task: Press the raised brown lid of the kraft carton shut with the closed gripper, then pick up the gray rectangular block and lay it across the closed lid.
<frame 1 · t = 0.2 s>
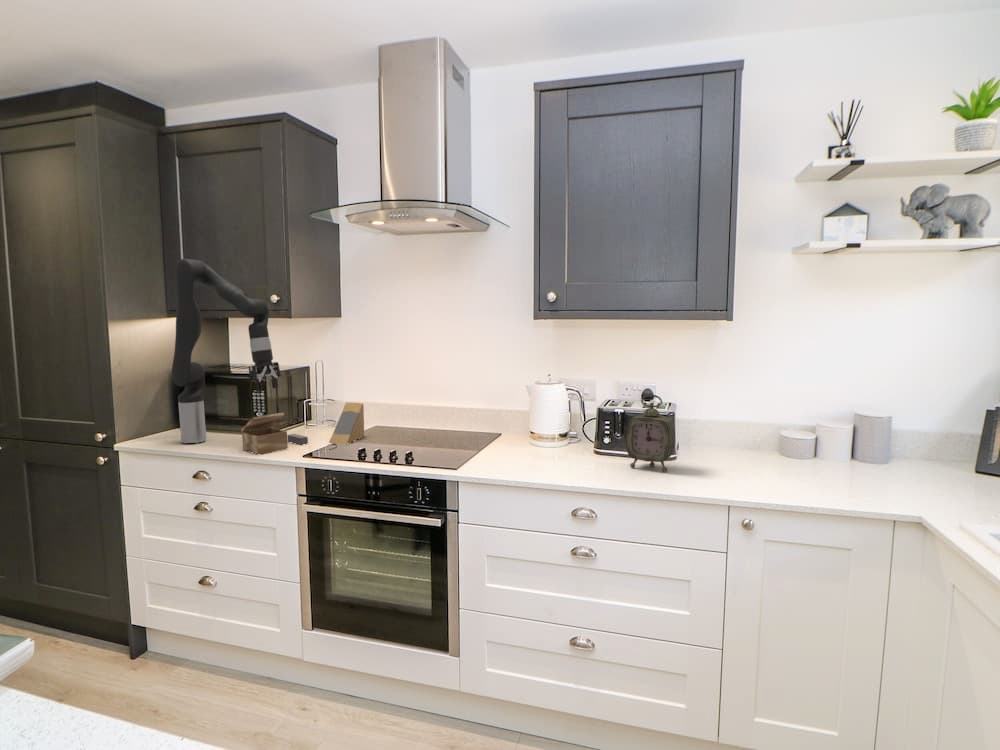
hand: (267, 389, 228), 23 cm above the worktop, tool pointing down, fingers open, 8 cm apart
sandwich container: (346, 441, 238), on the worktop
lid: (262, 422, 224), point 11 cm above the worktop, hinge at 30.0°
gray rectangular block: (297, 443, 235), on the worktop
carton: (265, 449, 224), on the worktop
tabletop clock: (650, 468, 192), on the worktop
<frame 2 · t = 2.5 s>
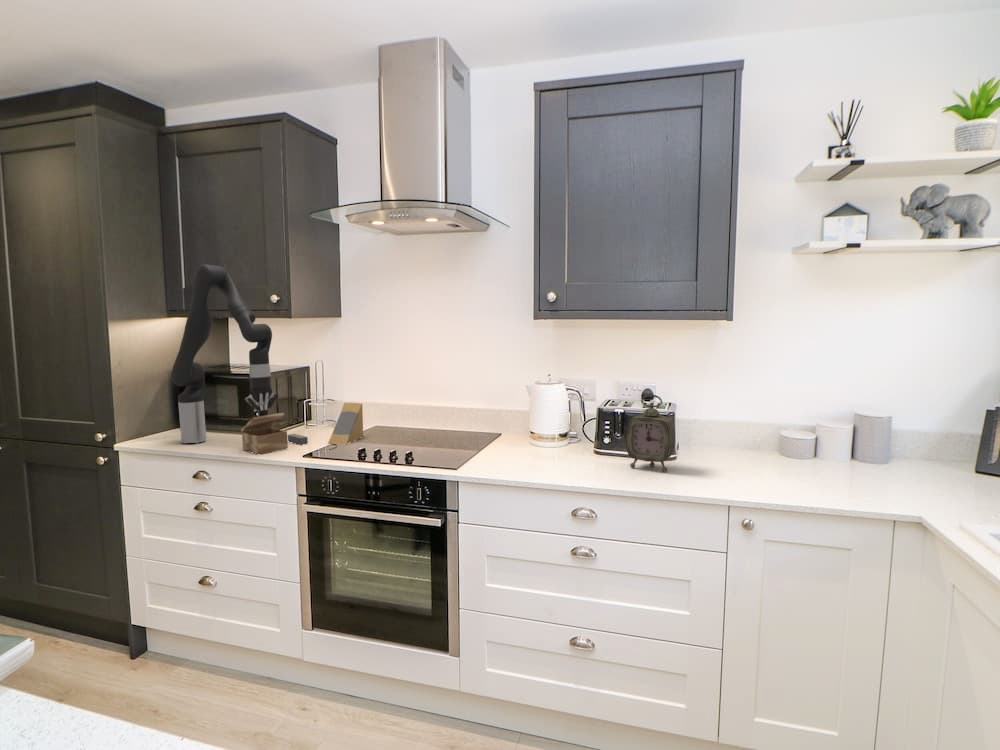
hand: (263, 419, 224), 12 cm above the worktop, tool pointing down, fingers closed
lid: (262, 422, 224), point 11 cm above the worktop, hinge at 29.8°, touching gripper
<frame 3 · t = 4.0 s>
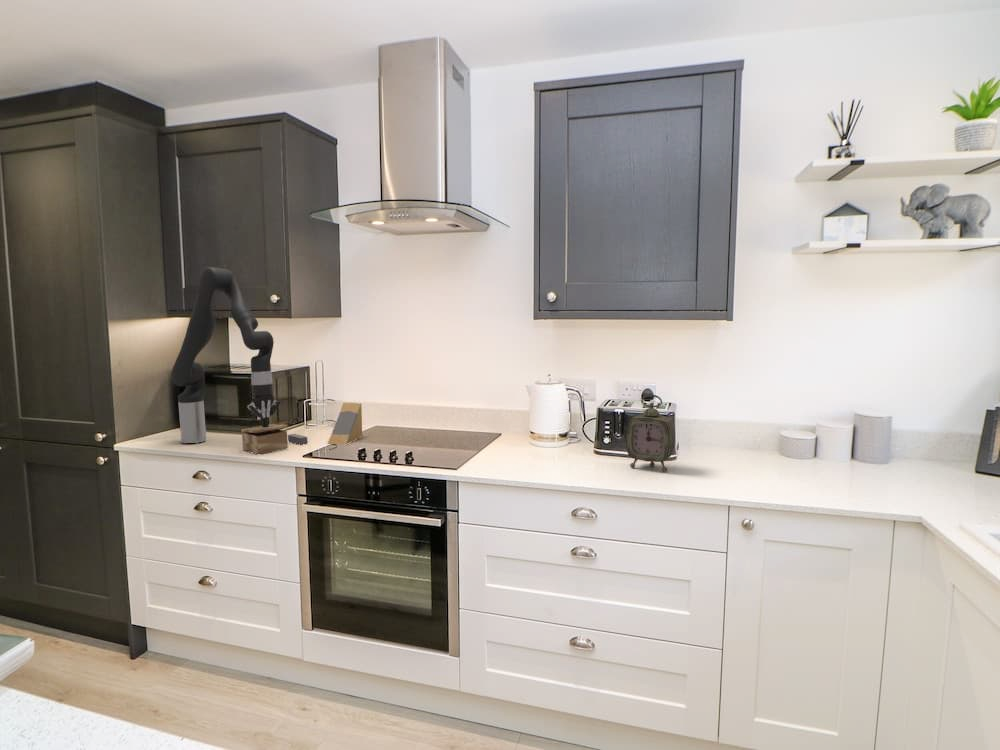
hand: (265, 426, 223), 9 cm above the worktop, tool pointing down, fingers closed
lid: (264, 428, 223), point 8 cm above the worktop, hinge at 6.0°
everything else where it was.
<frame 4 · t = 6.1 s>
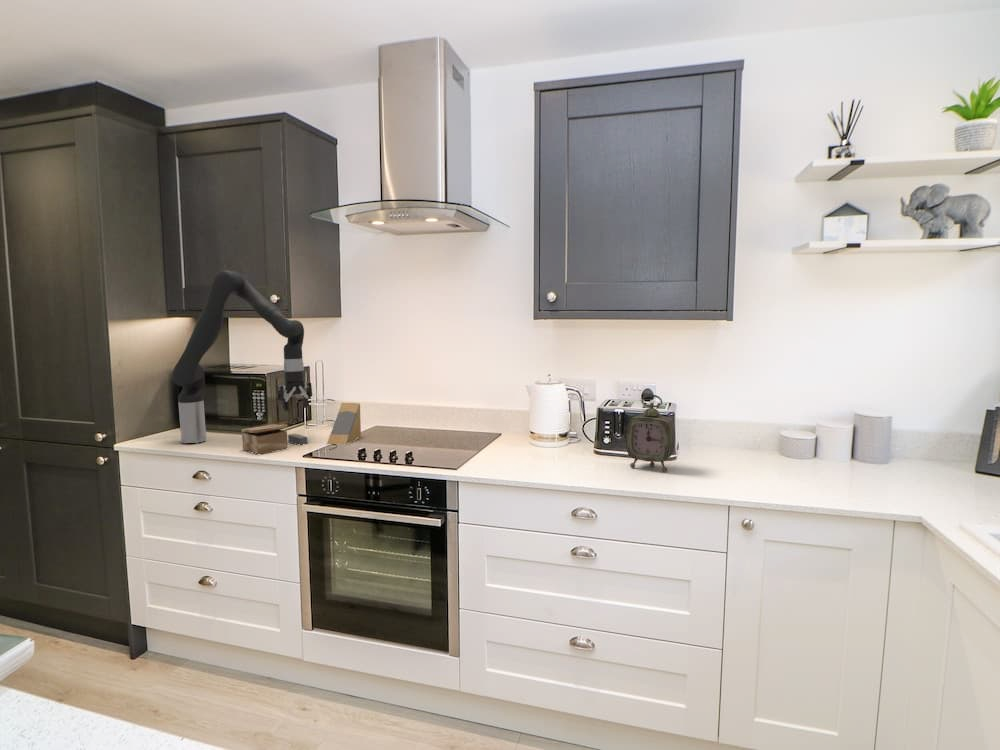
hand: (296, 409, 234), 14 cm above the worktop, tool pointing down, fingers open, 8 cm apart
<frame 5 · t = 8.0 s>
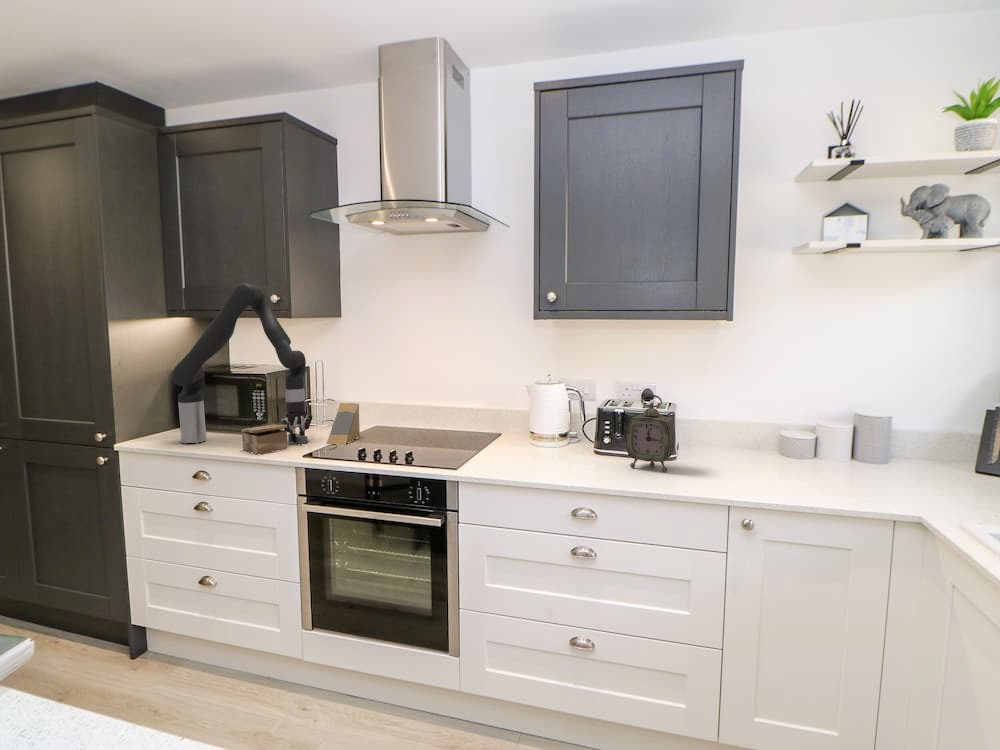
hand: (297, 440, 235), 1 cm above the worktop, tool pointing down, fingers closed on gray rectangular block, 3 cm apart
gray rectangular block: (298, 442, 235), on the worktop, touching gripper
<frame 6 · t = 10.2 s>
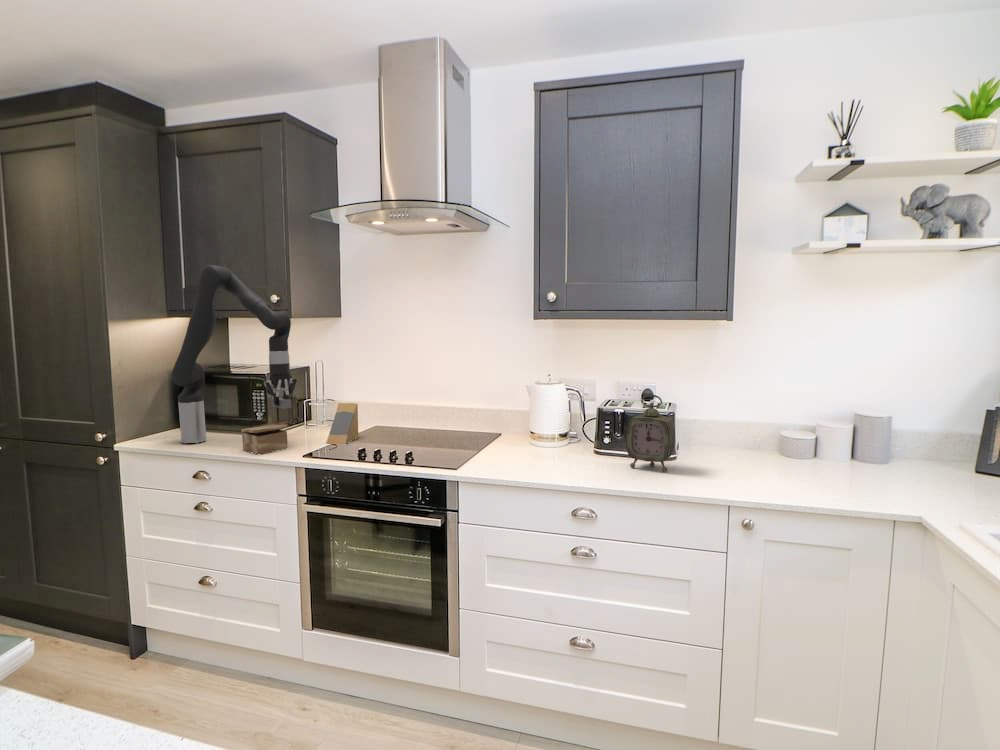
hand: (281, 404, 228), 17 cm above the worktop, tool pointing down, fingers closed on gray rectangular block, 3 cm apart
gray rectangular block: (281, 407, 229), point 16 cm above the worktop, touching gripper
when the fingers open (10 cm above the worktop, at t = 12.6 s): gray rectangular block stays where it is, resting on lid.
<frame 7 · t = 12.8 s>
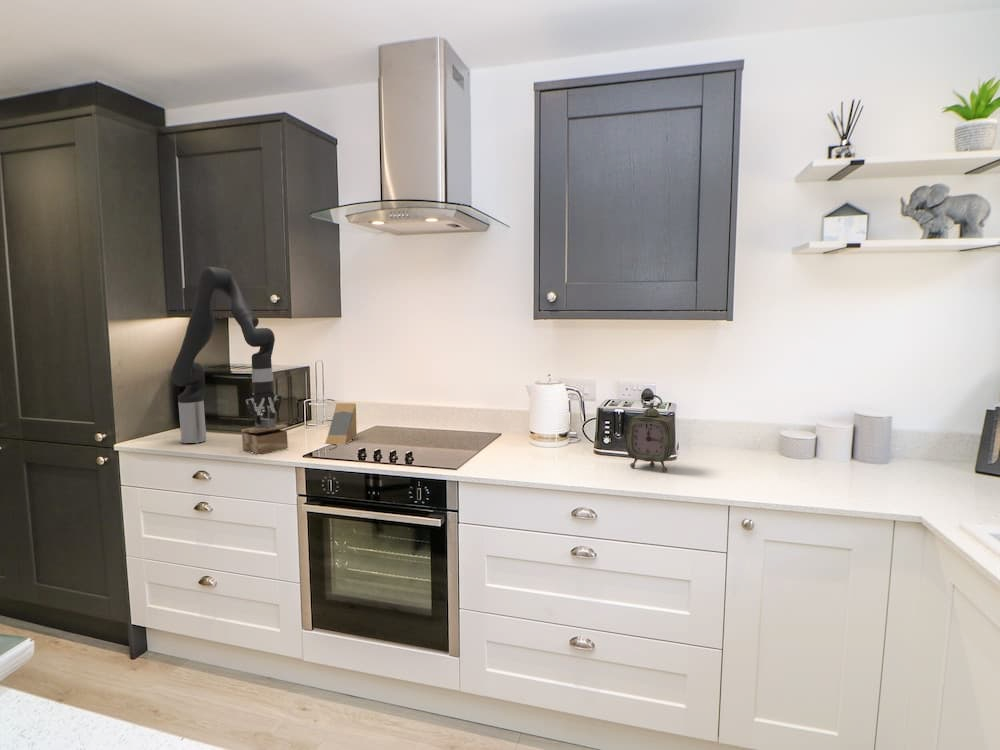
hand: (265, 423, 223), 11 cm above the worktop, tool pointing down, fingers open, 4 cm apart
lid: (264, 428, 223), point 8 cm above the worktop, hinge at 5.8°, touching gray rectangular block
gray rectangular block: (265, 427, 223), point 9 cm above the worktop, tilted 6°, touching lid
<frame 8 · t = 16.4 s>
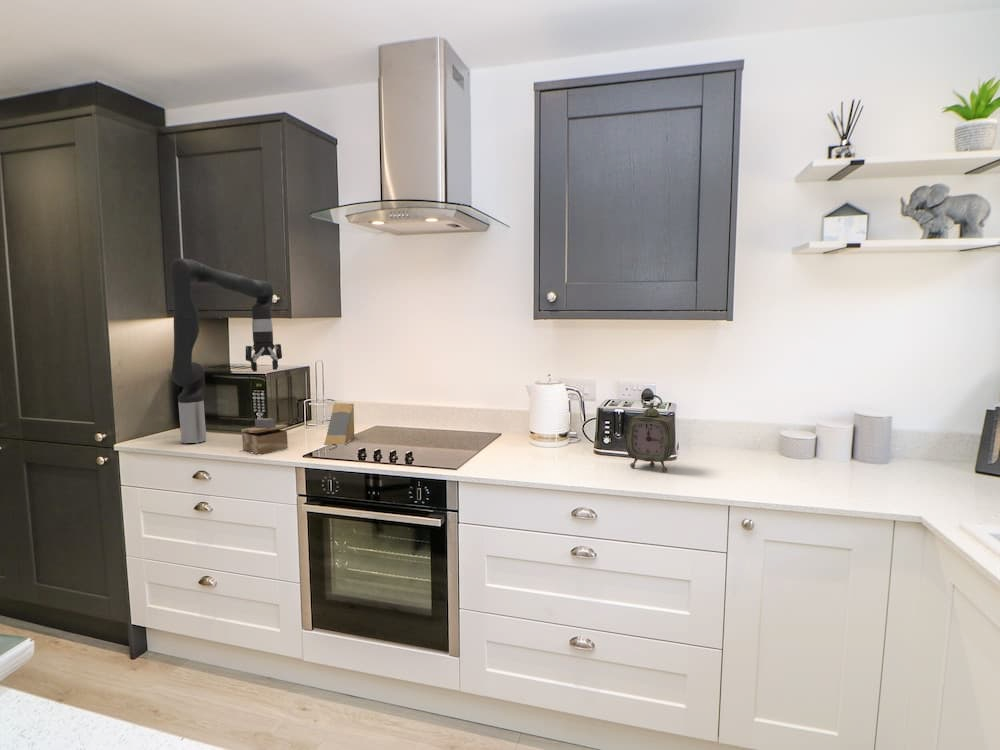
hand: (265, 370, 232), 30 cm above the worktop, tool pointing down, fingers open, 8 cm apart
at the end: lid at +6° (first picture: +30°); gray rectangular block inside the target area on the carton (0.8 cm from its centre), point 9.0 cm above the carton's base; the gripper is holding nothing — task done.
